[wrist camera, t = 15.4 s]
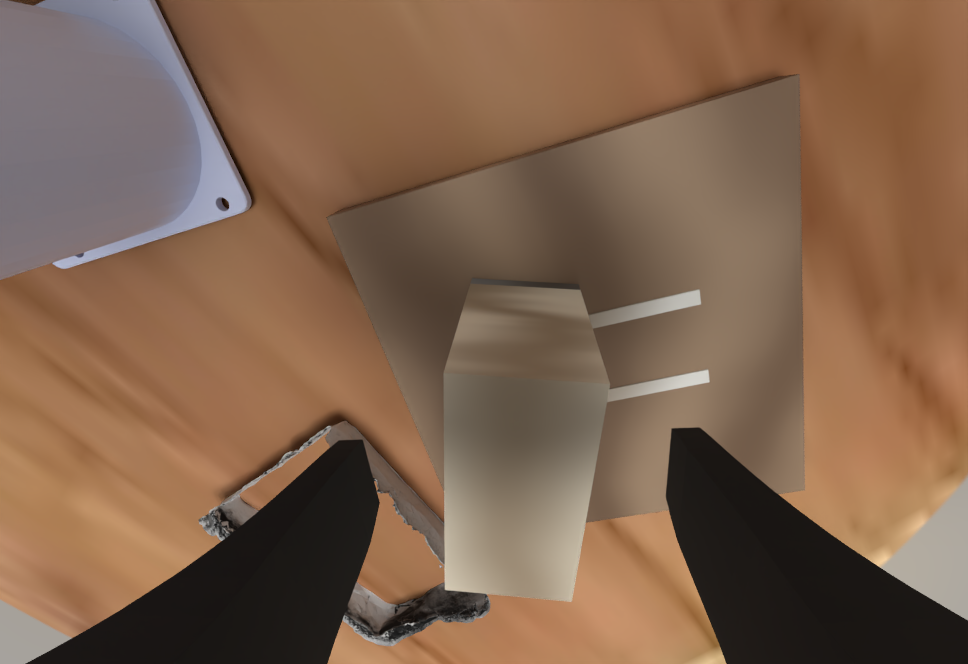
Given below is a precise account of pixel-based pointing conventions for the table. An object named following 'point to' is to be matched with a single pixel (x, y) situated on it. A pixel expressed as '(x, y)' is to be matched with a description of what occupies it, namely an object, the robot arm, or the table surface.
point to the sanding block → (520, 438)
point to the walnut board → (621, 280)
